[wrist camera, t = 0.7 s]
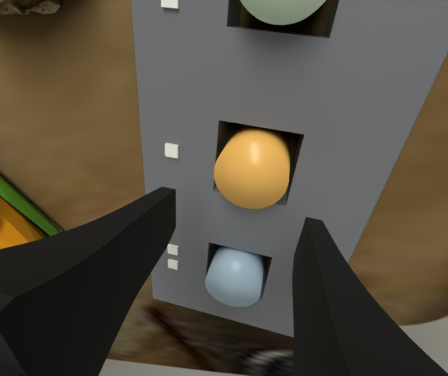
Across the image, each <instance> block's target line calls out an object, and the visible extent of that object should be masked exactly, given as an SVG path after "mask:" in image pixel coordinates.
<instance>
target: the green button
mask: <svg viewBox="0 0 448 376" xmlns="http://www.w3.org/2000/svg"><path fill="white" fill-rule="evenodd" d="M240 1H241V2H242V4H243V5H244V7H245V8H246V9H247V10H248V11H249V12H250V13H251V14H252V15H253V16H254V17H256V18H257V19H259V20H261V21H263V22H266V23H269V24H274V25H287V24H293V23H297V22H299V21H301V20H303V19H305V18H307V17H308V16H310V15H311V14H312V13H314V12H315V11H316V10H317V9H318V8H319V7H320V6H321V5H322V4H323V3H324V2H325V1H326V0H240Z"/></svg>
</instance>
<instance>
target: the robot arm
mask: <svg viewBox="0 0 448 376" xmlns="http://www.w3.org/2000/svg"><path fill="white" fill-rule="evenodd" d="M175 228H176V189H172V188H167V187H160V188H158V189H156V190H154V191H152V192H150V193H148V194H147V195H145V196H143V197H141V198H139V199H137V200H135V201H134V202H132V203H130V204H128V205H126V206H124V207H122V208H120V209H118V210H116V211H114V212H112V213H109V214H107V215H105V216H103V217H101V218H99V219H96V220H94V221H92V222H89V223H87V224H84V225H82V226H79V227H76V228H74V229H71V230H68V231H65V232H62V233H58V234H55V235H52V236H49V237H46V238H42V239H39V240H35V241H32V242H28V243H24V244H20V245H16V246H11V247H7V248H3V249H0V376H98V375H99V373H100V371H101V369H102V366H103V364H104V362H105V360H106V358H107V355H108V353H109V351H110V349H111V346H112V344H113V342H114V340H115V338H116V336H117V334H118V332H119V330H120V327H121V325H122V323H123V321H124V319H125V317H126V315H127V313H128V311H129V309H130V307H131V305H132V303H133V301H134V299H135V298H136V296H137V294H138V292H139V291H140V289H141V287H142V286H143V284H144V283H145V281H146V280H147V278H148V276H149V275H150V273H151V272H152V270H153V269H154V267H155V265H156V264H157V262H158V261H159V259H160V257H161V256H162V254H163V253H164V251H165V249H166V248H167V246H168V244H169V242H170V240H171V237H172V235H173V233H174V231H175ZM292 296H293V324H294V348H293V364H292V376H448V374H447V372H445V371H444V370H443V369H442V368H441V367H440V366H439V365H438V364H437V363H436V362H435V361H433V360H432V359H431V358H430V357H429V356H428V355H427V354H426V353H425V352H424V351H423V350H422V349H421V348H420V347H418V345H416V344H415V343H414V342H413V341H412V340H411V339H410V338H409V337H408V336H407V334H406V333H405V332H404V331H403V330H402V329H401V328H400V327H399V326H398V325H397V324H396V323H395V322H394V321H393V320H392V319H391V318H390V317H389V316H388V314H387V313H386V312H385V311H384V310H383V309H382V308H381V306H380V305H379V304H378V303H377V302H376V301H375V299H374V298H373V297H372V296H371V295H370V293H369V292H368V291H367V290H366V288H365V287H364V286H363V284H362V283H361V282H360V280H359V279H358V278H357V276H356V275H355V273H354V272H353V270H352V269H351V268H350V266H349V265H348V263H347V261H346V260H345V258H344V257H343V255H342V254H341V252H340V250H339V249H338V247H337V245H336V244H335V242H334V240H333V238H332V237H331V235H330V233H329V231H328V229H327V228H326V226H325V224H324V222H323V221H322V220H319V219H314V218H309V217H306V218H305V222H304V225H303V228H302V231H301V234H300V237H299V241H298V244H297V247H296V250H295V253H294V260H293V271H292Z"/></svg>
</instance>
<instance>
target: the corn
mask: <svg viewBox="0 0 448 376" xmlns="http://www.w3.org/2000/svg"><path fill="white" fill-rule="evenodd" d="M16 208H17V209H16ZM21 212H22V213H23V214H24V215H25V216H27V217H28V218H29V219H30V220H32V221H33V222H34V223H35V224H36V225H38V226H39V227H40V228H41V229H43V230H44V231H45V232H46V233H47V234H48V235H49V236H52V235H55V234H58V233H61V232H60V231H59V230H58V229H57V227H56V226H55V225H54V224H53V223H52V222H51V221H50V220H49V219H48V218H47V217H46V216H45V215H43V214H42V213H41V212H40V211H39V210H38V209H37V208H36V207H35V206H34V205H33V204H32V203H30V202H29V201H28V200H27V199H26V198H25V197H24V196H23V195H22V194H21V193H20V192H18V191H17V190H16V189H15V188H14V187H13V186H12V185H10V184H9V183H8V182H7V181H6V180H5V179H4V178H2V177H1V176H0V249H3V248H7V247H11V246H16V245H20V244H24V243H28V242H32V241H35V240H39V239H42V238H46V237H45V235H44V234H43V233H42V232H41V231H40V230H39V229H38V228H37V227H36V226H35V225H34V224H33V223H32V222H30V221H29V220H28V219H27V218H26V217H25V216H24V215H23V214H22V213H21Z"/></svg>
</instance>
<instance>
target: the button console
mask: <svg viewBox="0 0 448 376" xmlns="http://www.w3.org/2000/svg"><path fill="white" fill-rule="evenodd" d="M131 4H132V17H133V31H134V45H135V58H136V72H137V85H138V99H139V112H140V126H141V140H142V153H143V167H144V180H145V194H146V195H147V194H148V193H150V192H152V191H154V190H156V189H158V188H160V187H167V188H172V189H176V228H175V231H174V233H173V235H172V237H171V240H170V242H169V244H168V246H167V248H166V249H165V251H164V253H163V254H162V256H161V257H160V259H159V261H158V262H157V264H156V265H155V267H154V269H153V270H152V272H151V275H152V289H153V298H154V299H158V300H161V301H165V302H169V303H172V304H176V305H179V306H183V307H186V308H190V309H194V310H197V311H201V312H204V313H208V314H212V315H215V316H219V317H222V318H226V319H230V320H233V321H237V322H240V323H244V324H248V325H251V326H255V327H258V328H262V329H266V330H269V331H273V332H276V333H280V334H284V335H287V336H291V337H294V324H293V296H292V271H293V260H294V253H295V250H296V247H297V244H298V241H299V237H300V234H301V231H302V228H303V225H304V222H305V218H306V217H309V218H314V219H319V220H322V221H323V222H324V224H325V226H326V228H327V229H328V231H329V233H330V235H331V237H332V238H333V240H334V242H335V244H336V245H337V247H338V249H339V250H340V252H341V254H342V255H343V257H344V258H345V260H346V261H347V263H348V262H349V260H350V258H351V256H352V253H353V251H354V249H355V247H356V245H357V243H358V241H359V239H360V237H361V234H362V232H363V230H364V228H365V226H366V224H367V222H368V220H369V217H370V215H371V213H372V211H373V209H374V207H375V205H376V203H377V201H378V198H379V196H380V194H381V192H382V190H383V188H384V186H385V184H386V182H387V179H388V177H389V175H390V173H391V171H392V169H393V167H394V165H395V162H396V160H397V158H398V156H399V154H400V152H401V150H402V148H403V146H404V143H405V141H406V139H407V137H408V135H409V133H410V131H411V129H412V127H413V124H414V122H415V120H416V118H417V116H418V114H419V112H420V110H421V107H422V105H423V103H424V101H425V99H426V97H427V95H428V93H429V91H430V88H431V86H432V84H433V82H434V80H435V78H436V76H437V74H438V72H439V69H440V67H441V65H442V63H443V61H444V59H445V57H446V55H447V52H448V0H333V4H332V8H331V12H330V16H329V20H328V24H327V28H326V32H325V36H322V35H313V34H304V33H296V32H287V31H278V30H269V29H260V28H251V27H242V26H239V19H240V9H241V1H240V0H131ZM229 122H233V123H239V124H245V125H251V126H257V127H263V128H269V129H275V130H281V131H287V132H293V133H299V134H300V135H299V139H298V143H297V147H296V151H295V155H294V159H293V163H292V167H291V171H290V175H289V183H288V187H287V190H286V192H285V194H284V195H283V196H282V198H281V199H280V200H278V201H277V202H276V203H274V204H273V205H271V206H268V207H265V208H261V209H248V208H243V207H240V206H237V205H235V204H233V203H231V202H230V201H229V200H227V199H226V198H225V197H224V196H223V195H222V194H221V192H220V191H219V189H218V188H217V185H216V183H215V179H214V167H215V163H216V161H217V159H218V157H219V156H220V154H221V152H222V151H223V149H224V147H225V146H226V144H227V136H228V126H229ZM216 244H218V245H222V246H226V247H231V248H235V249H239V250H243V251H247V252H252V253H256V254H260V255H264V256H268V257H269V259H268V263H267V267H266V270H264V274H263V280H262V287H261V294H260V298H259V299H258V301H257V302H255V303H254V304H252V305H250V306H246V307H234V306H229V305H226V304H223V303H221V302H219V301H218V300H216V299H215V298H214V297H212V296H211V294H210V293H209V292H208V290H207V289H206V286H205V278H206V276H207V273H208V270H209V268H210V265H211V262H212V260H213V257H214V254H215V251H216Z"/></svg>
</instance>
